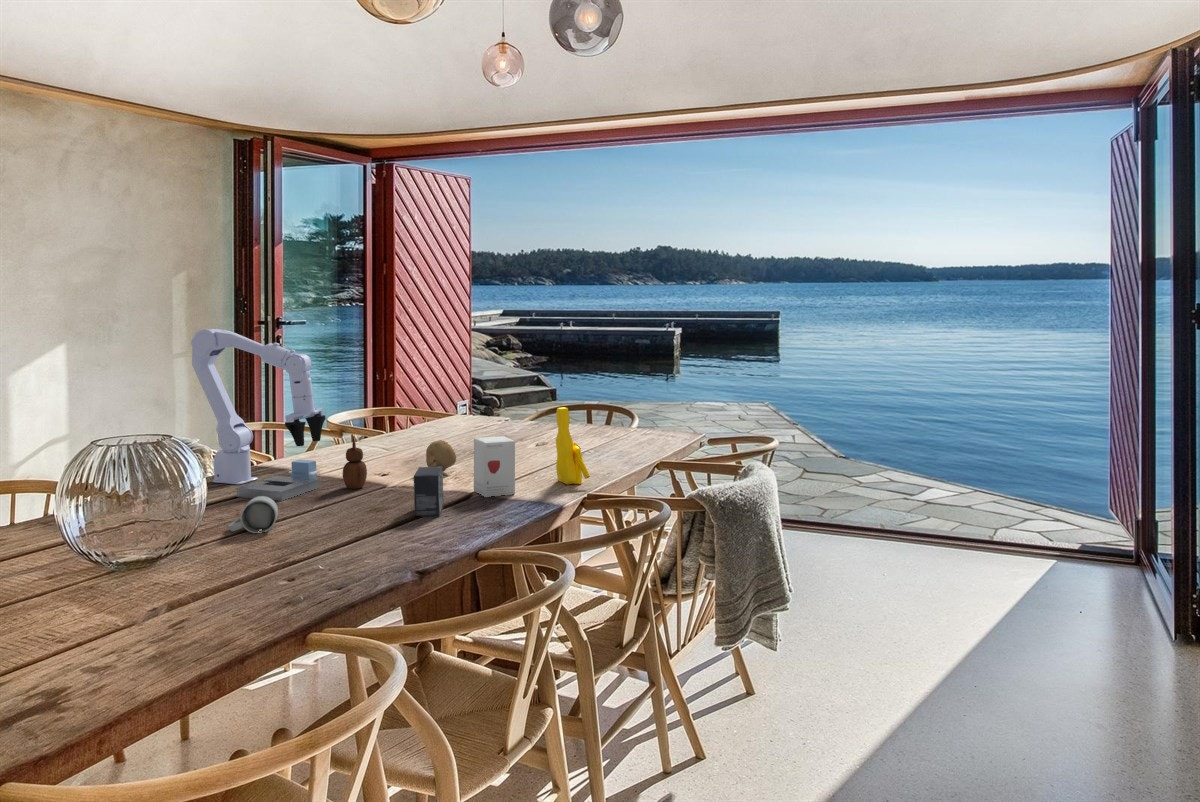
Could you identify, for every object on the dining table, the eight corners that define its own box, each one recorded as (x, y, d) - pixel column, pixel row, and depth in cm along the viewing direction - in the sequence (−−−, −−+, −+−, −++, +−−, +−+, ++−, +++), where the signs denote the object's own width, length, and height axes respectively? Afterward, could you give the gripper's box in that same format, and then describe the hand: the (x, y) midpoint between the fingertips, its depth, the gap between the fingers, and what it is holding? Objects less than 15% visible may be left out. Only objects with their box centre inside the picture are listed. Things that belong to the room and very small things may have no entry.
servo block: (288, 482, 250) (288, 461, 249) (296, 479, 253) (296, 459, 253) (312, 484, 248) (311, 463, 247) (319, 481, 251) (319, 461, 250)
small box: (418, 506, 223) (417, 466, 222) (444, 506, 223) (443, 466, 222) (413, 517, 212) (412, 474, 211) (440, 516, 213) (439, 474, 212)
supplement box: (484, 498, 233) (483, 442, 231) (473, 491, 241) (472, 437, 239) (516, 494, 237) (515, 440, 235) (503, 488, 245) (503, 435, 243)
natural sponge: (459, 470, 268) (459, 438, 267) (451, 476, 259) (451, 443, 258) (430, 469, 269) (430, 437, 268) (422, 475, 260) (421, 442, 259)
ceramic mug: (279, 523, 205) (277, 491, 204) (277, 532, 198) (275, 499, 197) (230, 527, 202) (228, 494, 201) (226, 536, 195) (224, 503, 194)
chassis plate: (237, 497, 231) (236, 487, 231) (276, 484, 246) (275, 475, 246) (281, 501, 227) (281, 491, 227) (318, 488, 242) (318, 479, 242)
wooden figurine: (359, 491, 240) (357, 437, 238) (339, 489, 241) (338, 436, 239) (370, 485, 246) (369, 433, 244) (351, 484, 247) (350, 432, 245)
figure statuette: (595, 487, 246) (596, 410, 244) (570, 490, 243) (570, 411, 240) (567, 475, 262) (568, 403, 259) (543, 478, 258) (543, 404, 256)
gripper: (298, 399, 239) (304, 447, 240) (329, 392, 252) (335, 438, 254) (276, 400, 241) (283, 448, 243) (309, 393, 255) (314, 439, 256)
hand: (308, 443), depth 248 cm, fingers open, 7 cm apart
